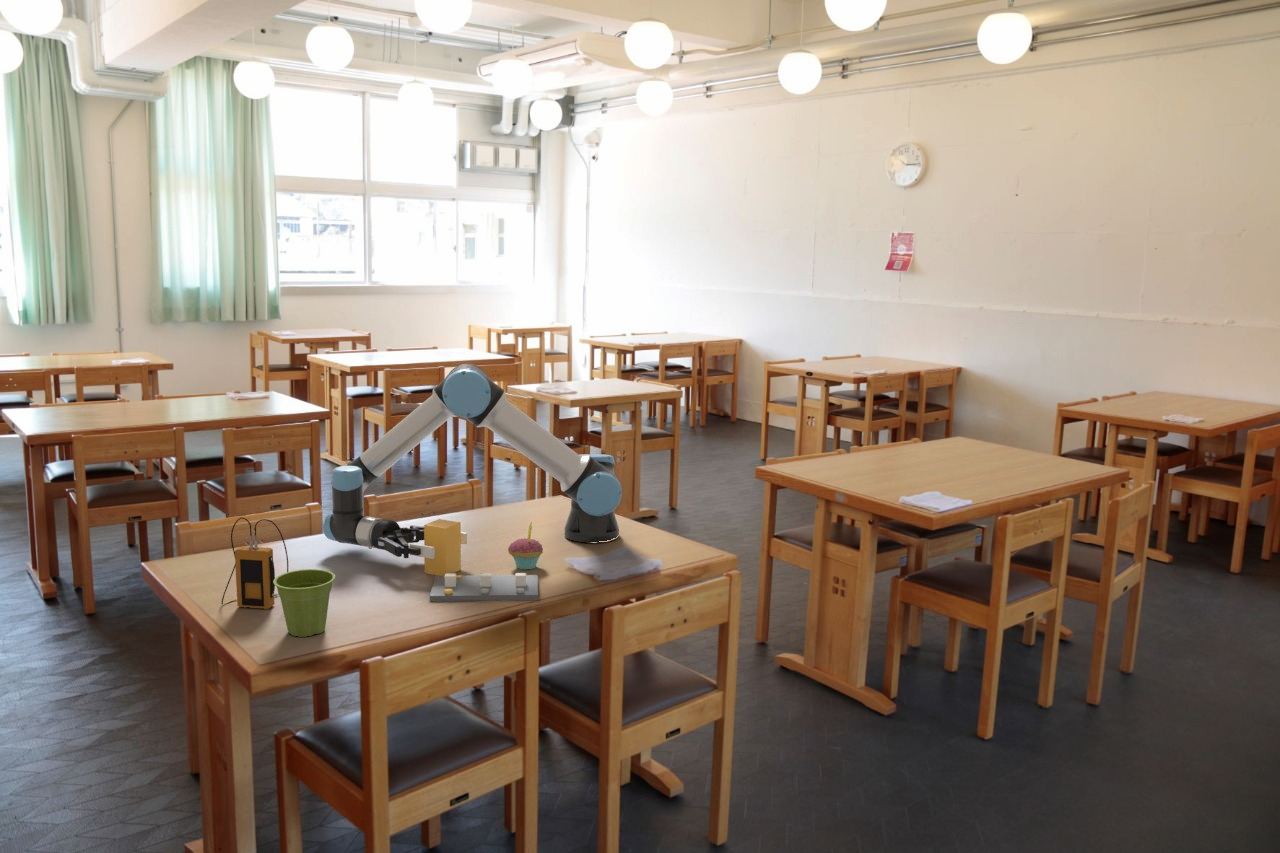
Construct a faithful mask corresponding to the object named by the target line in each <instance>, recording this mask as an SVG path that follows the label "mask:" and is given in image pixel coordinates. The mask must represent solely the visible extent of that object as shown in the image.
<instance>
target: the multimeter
mask: <svg viewBox="0 0 1280 853" xmlns="http://www.w3.org/2000/svg"><path fill="white" fill-rule="evenodd" d="M241 519H242V520H245V521H246V522H247V523H248V525H249V534H250V535H249V546H244V545H242V546H241V547H239V548H237V549H235V547H234V543H233V541H234V540H233V532H234V528H235V526H236V524H237V523H238V522H239V521H240V520H241ZM263 521H265V522H266V521H267V522H270V523H271V524H273V525H274V526H275V528H276V530H277V531H278V532H279V535H280V537H281V541H282V543H283V546H284V551H285V556H286V573H287V572H289V556H288V551H287V546H286V543H285V539H284V536H283V535H282V532H281V530H280V528H279V527H278V525H277V524H276V523H275V522H274V521H272V520H270V519H265V518H263V519H259V520H258V521H256V523H255V525H254V542H253V536H252V525H251V522H250V521H249V520H248V519H247V518H246V517H239V518H238V519H237V520H236V521H235V522H234V524H233V525H232V528H231V531H230V532H231V533H230V541H231V542H230V543H231V548H232V552H233V556H234V561H235V562H234V567H233V569H232V571H231V574H230V576H229V579H228V582H227V584H226V586H225V590H224V592H223V595H222V599H221V603H220V604H221V605H222V604H224V598H225V595H226V593H227V589H228V586H229V584H230V581H231V579H232V577H233V574H234V571H235V585H236V586H235V587H236V597H237V598H236V599H237V601H236V602H237V605H236V606H237V607H238V606H239V607H238V608H240V607H244V608H246V607H250V608H251V609H262V608H264V609H263V610H269V609H270V608H271V607H273V606H275V597H278V596H279V594H278V593H275V588H276V586H275V585H274V583H273V581H274V579H275V578H276V575H275V574H276V573H275V570H276V569H275V563H274V551H273V550H274V549H273V548H272V547H259V545H258V540H257V539H258V538H257V537H258V536H257V525H258V524H259V523H260V522H263ZM253 543H254V544H253ZM274 596H275V597H274ZM250 608H249V609H250Z"/></svg>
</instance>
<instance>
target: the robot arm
mask: <svg viewBox="0 0 1280 853" xmlns="http://www.w3.org/2000/svg"><path fill="white" fill-rule="evenodd" d="M506 394H507V392H506V390H504V389H503V388H502V387H500V386H499V385H498V384H497V383H496V382H494V381H493V380H491V378H489V375H488V374H487V373H486V371H485V370H484V369H483V368H482V367H480V366H478V365H476V364H473V363H462V364H460V365H457V366H455V367H454V368H451V370H450V371H449V373H447V375H446V376H445V378H444V379H443V380H442V381H441V382H440V383H439V384H437V385H436V386H435V387H434V388H433V389H432V394H431V396H429V397H428V398H427V399H426V400H424V401H423V402H422V403H421V404H420V405H418V406H417V407H416V408H415V409H414V410H413V411H411V412H410V413H408V414H407V416H405V417H404V418H403V419H401V421H399V422H398V423H397V424H395V426H393V427H392V428H391V429H390V430H389V431H387V432H386V433H385V434H384V435H382V437H380V438H379V439H378V440H377V441H375V442H374V443H373V444H372V445H371V446H370V447H368V448H367V449H366V450H365V451H364V452H362V453H361V454H360V455H359V456H358V457H357V458H355V459H354V460H353V461H352V462H349V463H348V464H346V465H342V466H338V467H335V468H333V470H332V472H331V481H330V484H331V497H332V498H331V500H332V501H331V502H332V511H330V512H329V513H328V514H326V516H325V517H324V519H323V520H324V522H323V524H322V532H323V535H324V536H325V538H327V539H328V540H330V541H335V542H338V543H341V544H350V545H355V546H360V547H367V548H368V549H370V550H372V549H377V550H383V551H386V552H388V553H390V554H392V555H393V556H395V557H396V558H397V557H398V558H400V557H402V556H403V559H409V557H410V556H415V557H420V558H424V557H425V558H430V559H434V558H435V557H434V547H431V546H425V545H424V544H419V542H420V541H424V525H422V526H419V525H409V528H408V527H400V525H399V523H398V522H397V521H395V520H393V519H387V518H386V519H385V518H380V517H374V516H368V515H364V492H365V491H366V489H367V488H368V487H369V486H371V484H373V483H374V482H375V481H376V480H377V479H379V477H380V476H382V475H383V474H384V473H385V472H387V471H388V470H389V469H390V468H392V467H393V466H394V465H395V464H396V463H398V462H399V461H400V460H401V459H402V458H403V457H405V456H406V455H407V454H408V453H409V452H410V451H412V450H413V449H414V448H416V447H417V446H418V445H419V444H421V443H422V442H423V440H425V439H427V437H429V436H430V435H431V434H433V432H435V431H436V430H437V429H439V427H441V426H442V425H443V424H444V423H445V422H447V421H448V420H449V419H450V418H452V417H453V418H457V417H460V418H464V419H466V420H467V421H468V422H470V423H471V424H472V425H473V426H475V427H476V428H483V427H486V428H487V429H489V430H490V431H491V432H493V433H494V434H495V435H497V436H498V437H499V438H501V439H502V440H503V441H505V442H506V443H508V444H509V445H510V446H511V447H512V448H514V449H515V450H516V451H518V452H519V453H520V454H522V455H523V456H524V457H526V458H527V459H528V460H529V461H531V462H532V463H534V464H535V465H536V466H538V467H539V468H540V469H542V470H543V471H544V472H546V473H547V474H548V475H550V476H551V477H552V478H554V479H555V480H556V481H558V482H559V484H560V490H561V492H562V493H564V494H565V495H566V496H568V497H569V498H571V499H570V501H571V502H570V504H571V505H570V507H571V508H570V511H569V514H568V517H567V519H566V523H565V526H564V534H563V535H565V536H564V538H565V539H567V538H568V539H567V540H569V539H570V540H569V541H571V540H574V541H573V542H575V541H580V542H579V543H581V542H599V541H607V540H611V539H613V538H616V537H617V536H618V535H619V536H620V527H619V525H618V521H617V520H618V519H617V517H616V514H615V510H616V509H617V508H618V506H619V504H620V503H621V500H622V495H623V493H622V492H623V490H622V484H621V482H620V480H619V478H618V477H617V476H616V474H615V466H616V463H615V458H614V456H613V455H611V454H604V453H603V454H600V453H599V454H598V453H595V454H594V453H593V454H592V453H590V454H589V453H586V454H585V453H584V454H579V453H577V452H575V450H573V449H572V448H570V446H568V445H567V444H565V443H564V442H563V441H561V440H560V439H559V438H557V436H555V435H553V434H552V433H551V432H550V431H548V430H547V429H546V428H544V427H543V426H541V425H540V423H538V422H536V421H535V420H534V419H533V418H531V417H530V416H529V415H527V414H526V413H524V412H523V411H522V410H521V409H519V407H517V406H516V405H515V404H513V403H511V402H510V401H509V400H508V399H507V395H506ZM467 544H468V533H467V532H464V531H461V545H467Z"/></svg>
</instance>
